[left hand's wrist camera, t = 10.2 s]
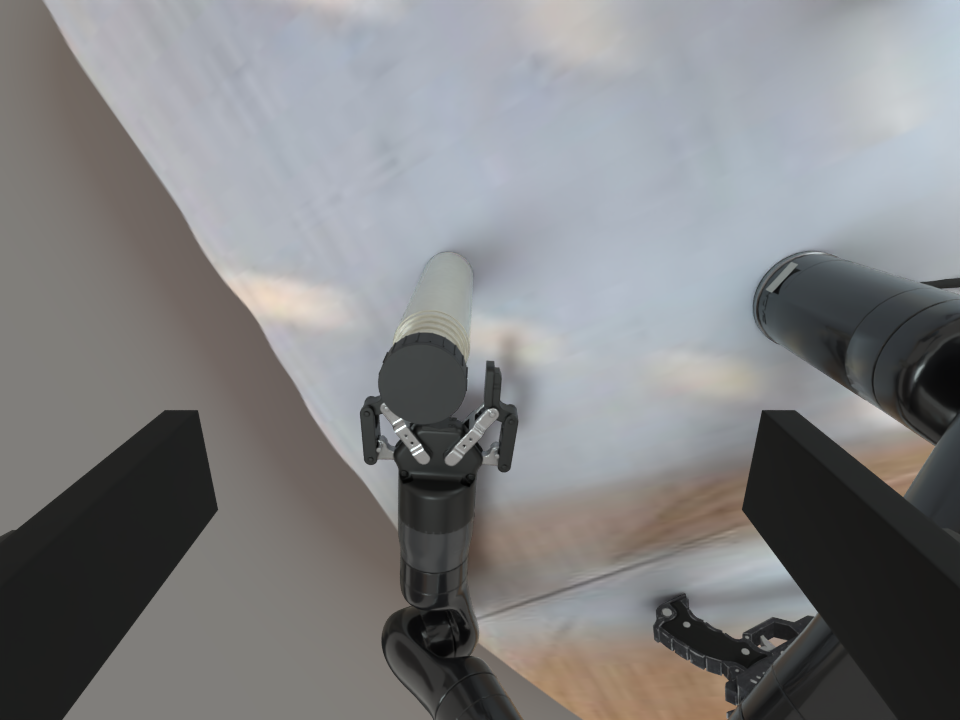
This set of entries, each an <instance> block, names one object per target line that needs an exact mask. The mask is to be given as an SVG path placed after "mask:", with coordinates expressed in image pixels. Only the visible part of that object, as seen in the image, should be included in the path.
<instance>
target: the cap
mask: <svg viewBox="0 0 960 720" xmlns="http://www.w3.org/2000/svg"><path fill="white" fill-rule="evenodd" d="M467 374H468V367H466V362H465V359H464V355H462V353H461V351H460V350H459V349H458V347H457V345H455V344H454V343H452V342H451V341H450V340H448V339H447V338H446V337H443V336H440V335H438V334H434V333H428V332H421V333H420V332H418V333H414V334H411V335H408V336H407V335H406V336H405V337H404V338H402V339H400V340H399V341H398V342H395V343H394V345H393V347H392V348H391V349H390V351H389V352H387V354H386V356H385V358H384V360H383V365H382V368H381V370H380V372H379V379H378V386H379V392H380V395H381V398H382V400H383V402H384V403H385V405H386V406H387V407H388V409H389V410H390V411H391V412H392V413H394V414H395V415H396V416H398V417H399V418H401V419H403V420H405V421H408V422H411V423H415V424H432V423H437V422H440V421H442V420H444V419H446V418H448V417H449V416H451V415H452V414H453V413H454V412H455V411H456V410H457V409H458V408H459V407H460V405H461V404H462V401H463V399H464V396H465V392H466V391H467Z"/></svg>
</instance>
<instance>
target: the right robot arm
mask: <svg viewBox="0 0 960 720" xmlns="http://www.w3.org/2000/svg"><path fill="white" fill-rule="evenodd" d="M957 287H960V278H957V279H944V280H938V281H930V282H920V283H919V282H916V281H913V280H909V279H906V278H903V277H899V276H896V275H893V274H889V273H886V272H883V271H880V270H876V269H873V268H870V267H866V266H863V265H860V264H856V263H854V262H850V261H847V260H844V259H840V258H838V257H836V256H834V255H831V254H828V253H824V252H819V251H807V252H801V253H798V254H795V255H792V256H790V257H788V258H786V259H784V260H782V261H781V262H779V263H778V264H777V265H775V266H774V267H773V268H772V269H771V270H770V271H769V272H768V273H767V274H766V275H765V277H764V278H763V280H762V281H761V283H760V285H759V287H758V289H757V291H756V294H755V298H754V304H753V313H754V318H755V321H756V324H757V326H758V328H759V329H760V331H761V332H762V333H763V334H764V335H765V336H766V337H767V338H769V339H770V340H772V341H773V342H775V343H777V344H779V345H781V346H783V347H784V348H786V349H788V350H789V351H790V352H792V353H793V354H795V355H797V356H798V357H800V358H801V359H803V360H804V361H806V362H807V363H809V364H810V365H812V366H813V367H815V368H817V369H818V370H820V371H821V372H823V373H824V374H826V375H827V376H829V377H830V378H832V379H833V380H835V381H837V382H838V383H840V384H841V385H843V386H844V387H846V388H847V389H849V390H850V391H852V392H854V393H855V394H857V395H858V396H860V397H861V398H863V399H864V400H866V401H868V402H869V403H871V404H872V405H874V406H875V407H877V408H879V409H880V410H882V411H883V412H885V413H886V414H888V415H889V416H891V417H892V418H894V419H895V420H897V421H898V422H900V423H901V424H903V425H904V426H906V427H907V428H909V429H910V430H912V431H913V432H914V433H916V434H917V435H919V436H920V437H922V438H923V439H925V440H926V441H928V442H929V443H931V444H932V445H934V446H935V448H934V449H933V451H932V452H931V454H930V456H929V457H928V459H927V460H926V462H925V464H924V465H923V467H922V468H921V470H920V471H919V473H918V475H917V476H916V478H915V479H914V481H913V482H912V484H911V486H910V487H909V489H908V490H907V492H906V494H905V495H904V497H903V498H905V499H906V500H907V501H908V502H910V503H911V504H912V505H913V506H915V507H916V508H917V509H918V510H919V511H921V512H922V513H923V514H924V515H926V516H927V517H928V518H929V519H931V520H932V521H933V522H934V523H936V524H937V525H938V526H939V527H941V528H949V529H951V530H953V531H955V532H956V533H958V534H960V294H956V293H953V292H950V291H946V290H942V288H957ZM501 380H502V378H501V371H500V368H497V367H495V366H494V361H486V375H485V388H484V403H483V404H482V405H481V406H480V407H479V408H478V409H477V410H476V411H473V412H472V413H471V414H470V415H469V416H468V417H467V418H466V419H465V420H464V421H463V422H460V421H458V420H457V418H450V417H449V418H446V419H444V420H442V421H440V422H437V423H432V424H415V423H411V422H408V421H405V420H403V419H401V418H399V417H398V416H396V415H395V414H394V413H392V412H391V411H390V410H389V409H388V407H387V406H386V405H385V403H384V402H383V400H382V398H381V395H380V396H377V397H373V396H369V397H367V398H366V400H365V403H364V406H363V407H362V409H361V411H360V418H361V430H362V441H363V452H364V461H365V462H366V463H367V464H368V465H374V464H375V463H376V462H377V460H394V461H395V462H396V464H397V466H398V470H399V483H398V535H399V542H400V551H401V552H400V553H401V554H400V585H401V591H402V594H403V596H404V598H405V599H406V601H407V602H408V603H409V604H410V605H412V606H409V607H406V608H404V609H401V610H398V611H397V612H395V613H393V614H392V615H391V616H390V617H389V618H388V619H387V621H386V623H385V625H384V628H383V632H382V649H383V653H384V656H385V659H386V661H387V663H388V665H389V667H390V669H391V670H392V672H393V673H394V675H395V676H396V677H397V678H398V679H399V681H400V682H401V683H402V684H403V685H404V686H405V687H406V688H407V689H408V690H409V691H410V692H411V693H412V694H413V695H414V696H415V697H416V698H417V699H418V700H419V702H420V703H421V704H422V705H423V706H424V707H425V709H426V710H427V711H428V712H429V713H430V715H431V716H432V718H433V720H523V718H522V717H521V715H520V714H519V712H518V711H517V709H516V707H515V706H514V704H513V702H512V701H511V699H510V698H509V696H508V695H507V693H506V691H505V690H504V688H503V687H502V685H501V683H500V682H499V680H498V679H497V677H496V676H495V674H494V672H493V671H492V669H491V668H490V667H489V665H488V664H487V663H486V662H485V661H484V660H482V659H481V658H478V657H475V656H470V655H471V653H472V652H473V651H474V649H475V647H476V645H477V643H478V640H479V627H478V622H477V619H476V616H475V613H474V610H473V607H472V603H471V599H470V594H469V588H468V582H467V570H468V555H469V547H470V542H471V538H472V532H473V520H474V505H475V491H476V477H477V471H478V469H479V467H480V466H481V465H482V464H484V465H493V466H498V469H499V471H501V472H508V471H509V470H510V468H511V462H512V456H513V450H514V444H515V438H516V432H517V427H518V416H517V409H516V407H515V406H514V405H512V404H509V405H506V404H504V403H502V402H501V401H500V392H501ZM379 414H384V416H385V417H386V418H387V419H388V421H389V422H390V423H391V424H392V426H393V429H394V431H395V433H396V434H397V435H398V436H399V438H400V440H399V441H398V443H397V444H396V446H391V445H390V444H389V443H388V440H387V438H386V437H385V436H383V435H382V436H381V434H380V420H379ZM495 420H498V421H500V422H502V425H501V431H500V437H499V442H494V443H493V444H492V445H491V447H490V449H489V450H487V451H483V450H482V448H481V446H480V445H479V444H478V442H477V441H478V440H479V439H480V438H481V437H482V436H483V434H484V432H485V431H486V429H487V428H488V427H489V426H490V425H491V424H492V423H493V422H494V421H495ZM728 720H898V719H897V718H896V717H895V715H894V714H893V713H892V711H891V710H890V709H889V707H888V706H887V705H886V703H885V702H884V701H883V699H882V698H881V696H880V695H879V694H878V692H877V691H876V690H875V688H874V687H873V686H872V684H871V683H870V682H869V680H868V679H867V678H866V676H865V675H864V674H863V672H862V671H861V670H860V668H859V667H858V665H857V664H856V663H855V661H854V660H853V659H852V657H851V656H850V655H849V653H848V652H847V651H846V649H845V648H844V647H843V645H842V644H841V643H840V641H839V640H838V639H837V637H836V636H835V634H834V633H833V632H832V630H831V629H830V628H829V626H828V625H827V624H826V622H825V621H824V620H823V618H822V617H821V616H820V614H819V613H817V614H816V615H815V617H814V618H813V619H812V620H811V622H810V623H809V624H808V625H807V627H806V628H805V629H804V630H803V631H802V632H801V633H800V635H799V636H798V637H797V638H796V639H795V640H794V641H793V642H792V643H791V644H790V645H789V647H788V648H787V649H786V650H785V651H784V652H783V653H782V654H781V655H780V656H779V657H778V658H777V659H776V660H775V661H774V662H773V664H772V665H771V666H770V667H769V668H768V670H767V671H766V672H765V673H764V674H763V676H762V677H761V678H760V679H759V680H758V682H757V683H756V684H755V685H754V687H753V688H752V689H751V690H750V691H749V693H748V694H747V695H746V696H745V697H744V699H743V700H742V701H741V702H740V703H739V705H738V706H737V707H736V709H735V710H734V711H733V713H732V714H731V716H730V717H729V718H728Z"/></svg>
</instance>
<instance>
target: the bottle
mask: <svg viewBox="0 0 960 720" xmlns="http://www.w3.org/2000/svg"><path fill="white" fill-rule="evenodd" d="M472 293H473V271H472V268H471V266H470V264H469V263H468V261H467V260H466V259H465V258H464V257H462V256H461V255H459V254H457V253H453V252H443V253H439V254H437V255H435V256H434V257H432V258H431V259H430V260H429V261H428V263H427V265H426V267H425V269H424V271H423V273H422V275H421V277H420V280H419V282H418V284H417V286H416V288H415V291H414V293H413V295H412V297H411V299H410V301H409V304H408V306H407V308H406V310H405V312H404V315H403V317H402V319H401V321H400V323H399V326H398V328H397V330H396V332H395V335H394V339H393V345H394V343H395V342H398V341H399V340H400V339H402V338H404V337H405V336H406V335H407V336H408V335H411V334H414V333H418V332H420V333H421V332H428V333H434V334H438V335H440V336H443V337H446V338H447V339H448V340H450V341H451V342H452V343H454V344H455V345H457V347H458V349H459V350H460V351H461V353H462V355H464V359H465V362H466V363H467V360H468V357H469V353H470V336H471V315H472Z"/></svg>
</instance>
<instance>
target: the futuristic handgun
mask: <svg viewBox="0 0 960 720" xmlns="http://www.w3.org/2000/svg"><path fill="white" fill-rule="evenodd" d="M656 617H657V620H656V622H655V624H654V625H653V630H654V640H655V641H656V642H658V643H659V642H661V643H662V644H663V645H665V646H666V647H667V648H669V649H670V650H672V651H674V650H675V653H677V654H678V655H679V656H681V657H682V658H684V659H686V660H690V661H691V663H692V664H694V665H696V666H698V667H699V668H701V669H703V670H704V669H705V668H706V671H708V672H711V673H714V674H718V675H721V676H722V674H724V676H725V677H726V678H727V679H728V680H729V681H728V682H726V685H725V700H726V701H727V702H730V703H732V704H734V705H737V706H738V705H739V703H740V702H741V701H742V700H743V699H744V697H745V696H746V695H747V694H748V693H749V691H750V690H751V689H752V688H753V687H754V685H755V684H756V683H757V682H758V680H759V679H760V678H761V677H762V676H763V674H764V673H765V672H766V671H767V670H768V668H769V667H770V666H771V665H772V664H773V662H774V661H775V660H776V659H777V658H778V657H779V656H780V655H781V654H782V653H783V652H784V651H785V650H786V649H787V648H788V647H789V645H790V644H791V643H792V642H793V641H794V640H795V639H796V638H797V637H798V636H799V635H800V633H801V632H802V631H803V630H804V629H805V628H806V627H807V625H808V624H809V623H810V622H811V620H812V619H813V618H814V617H813V616H806V617H804V618H802V619H800V620H798V621H796V622H790V621H786V620H782V619H778V618H774V617H772V618H770V619H768V620H766V621H764V622H762V623H761V624H759V625H757V626H755V627H753V628H751V629H749V630H748V631H746V632H744V633H743V638H742V639H734V638H732V637H731V636H729V635H728V634H727V633H725V634H724V633H723V632H722V630H719V629H715V628H714V627H712V626H711V625H709V624H708V623H707V622H706V623H704V622H703V620H701V619H699V618H697V617H695V616H694V615H693V613H692V612H691V610H689V601H688V598H686V594H683V595H681V596H679V597H677V598H675V599H673V600H670V601H668V602H666V603H664V604H662V605H661V606H659V607H658V608H657V610H656ZM773 637H776V638H780V639H784V640H787V642H785V643H783V644H781V645H779V646H778V647H775V646H774V645H773V644H772V643H770V642H769V641H768V640H769V639H771V638H773ZM758 645H761V647H760V648H759V647H757V646H758ZM734 710H735V709H734ZM734 710H731V711H728V712H727V718H729V717H730V716H731V714H732V713H733V711H734Z"/></svg>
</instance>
